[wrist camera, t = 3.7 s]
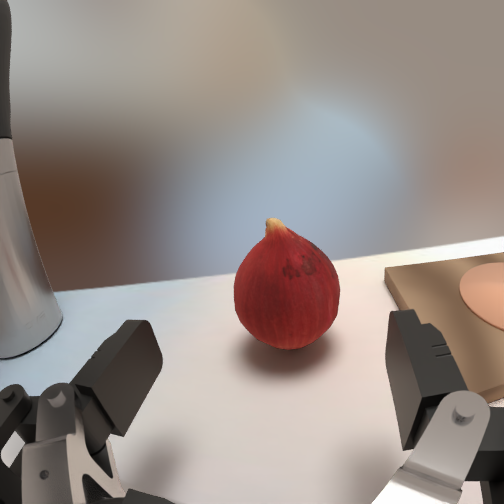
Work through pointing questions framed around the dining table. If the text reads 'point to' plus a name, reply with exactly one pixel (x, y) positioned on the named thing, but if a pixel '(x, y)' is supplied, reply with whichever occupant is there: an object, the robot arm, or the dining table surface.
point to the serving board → (460, 312)
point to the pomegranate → (286, 289)
